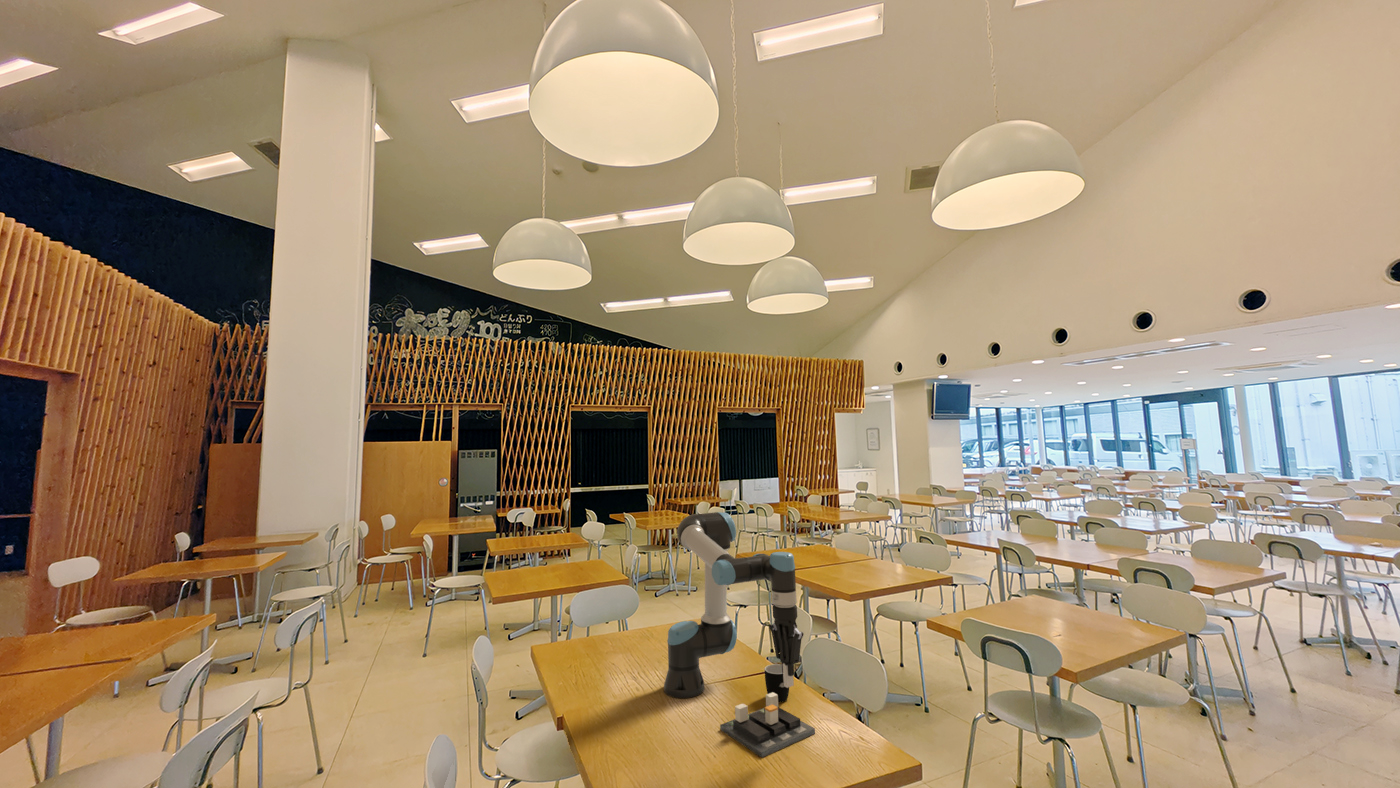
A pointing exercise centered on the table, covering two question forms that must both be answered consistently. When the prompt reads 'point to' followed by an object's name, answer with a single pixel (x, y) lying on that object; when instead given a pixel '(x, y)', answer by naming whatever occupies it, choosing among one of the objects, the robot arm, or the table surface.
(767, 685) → the mug
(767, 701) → the breaker far
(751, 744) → the panel
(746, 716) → the block
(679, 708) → the table surface
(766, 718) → the block
